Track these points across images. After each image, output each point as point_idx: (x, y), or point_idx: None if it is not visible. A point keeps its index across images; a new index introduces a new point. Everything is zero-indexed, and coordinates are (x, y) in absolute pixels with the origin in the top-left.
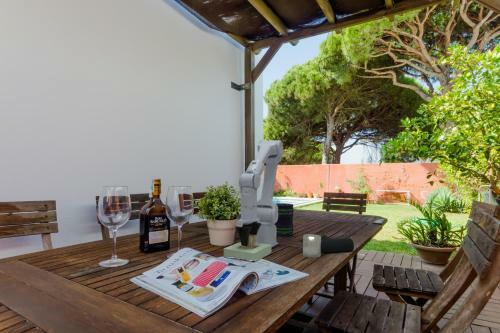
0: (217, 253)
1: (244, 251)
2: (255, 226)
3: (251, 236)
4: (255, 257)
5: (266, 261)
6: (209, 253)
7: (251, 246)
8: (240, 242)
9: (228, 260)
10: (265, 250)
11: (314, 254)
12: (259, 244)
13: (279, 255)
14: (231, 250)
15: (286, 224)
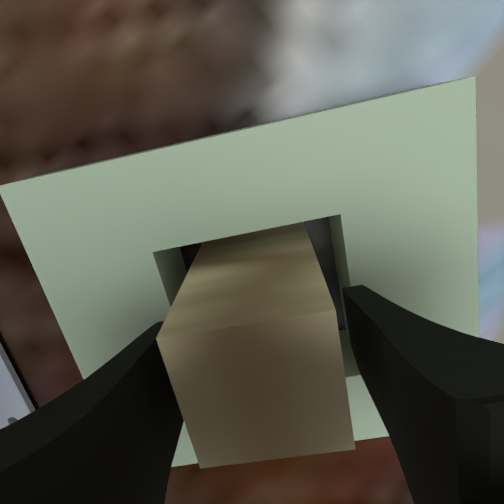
0: (384, 455)
1: (468, 217)
2: (74, 496)
3: (294, 332)
4: (417, 88)
5: (321, 10)
6: None
7: (306, 254)
8: (192, 455)
9: (498, 292)
10: (168, 146)
11: None
12: (104, 290)
13: (49, 48)
14: None
15: None
